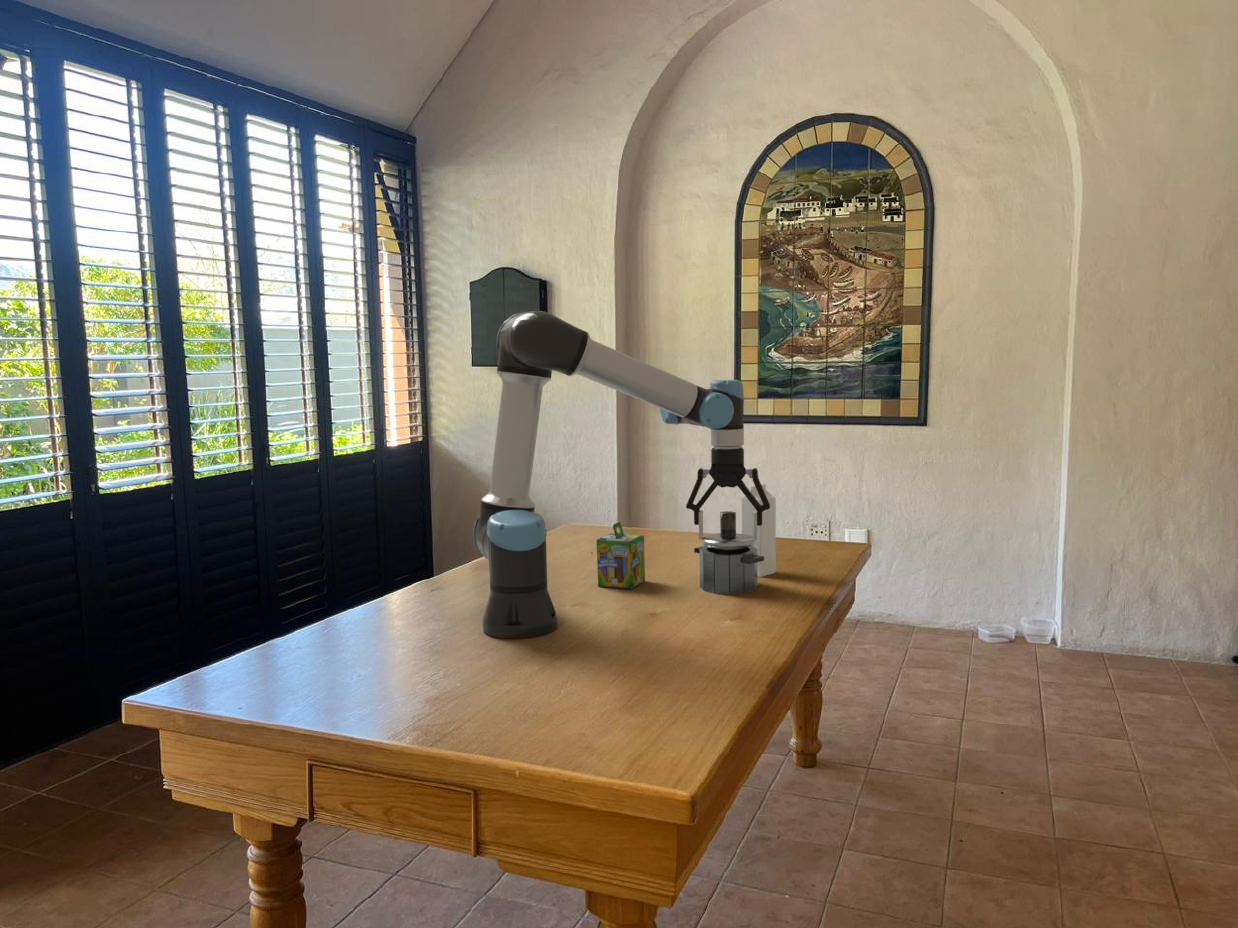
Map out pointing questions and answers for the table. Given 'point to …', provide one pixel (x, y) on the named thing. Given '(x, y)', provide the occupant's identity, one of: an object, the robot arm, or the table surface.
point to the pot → (728, 570)
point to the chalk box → (620, 559)
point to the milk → (762, 531)
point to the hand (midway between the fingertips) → (728, 539)
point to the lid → (728, 535)
